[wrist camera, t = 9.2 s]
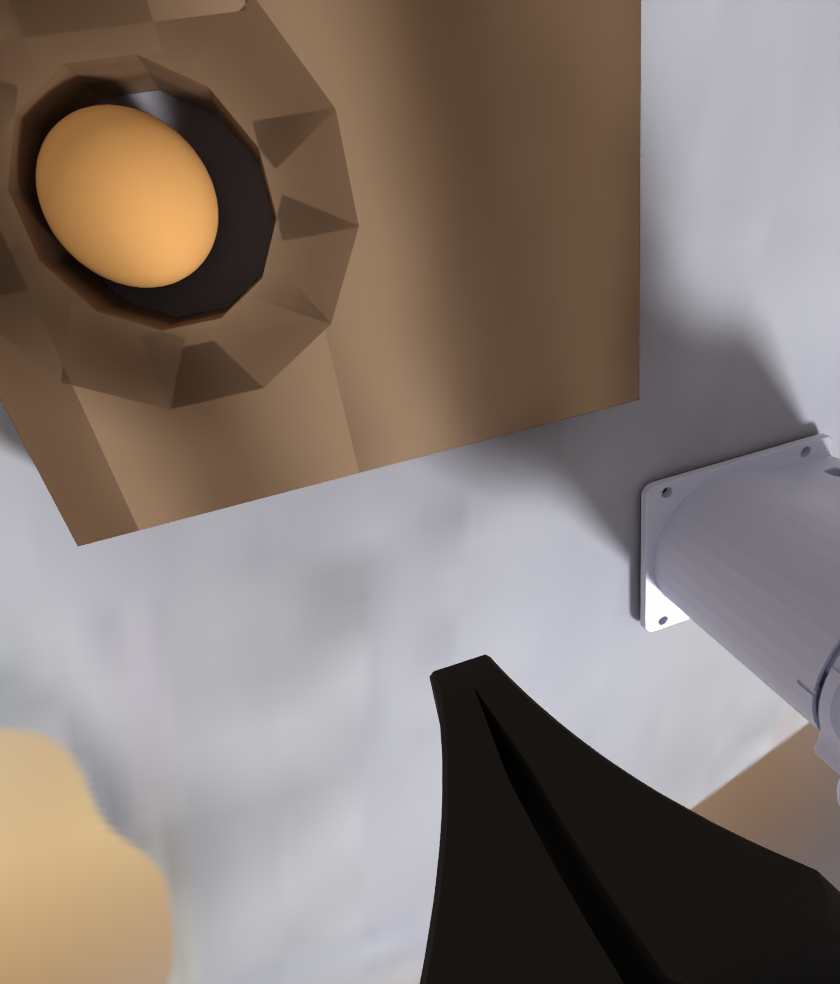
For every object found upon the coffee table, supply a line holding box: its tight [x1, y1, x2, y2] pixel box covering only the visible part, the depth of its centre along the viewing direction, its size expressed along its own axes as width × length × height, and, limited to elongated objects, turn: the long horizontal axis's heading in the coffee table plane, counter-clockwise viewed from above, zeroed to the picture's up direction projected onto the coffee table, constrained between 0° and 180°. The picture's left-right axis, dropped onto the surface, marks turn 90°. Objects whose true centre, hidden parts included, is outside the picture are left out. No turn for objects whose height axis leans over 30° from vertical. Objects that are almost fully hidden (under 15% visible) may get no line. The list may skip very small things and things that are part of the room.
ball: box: [36, 104, 218, 288], centre depth 14 cm, size 4×4×4 cm
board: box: [0, 0, 641, 546], centre depth 15 cm, size 18×16×3 cm
